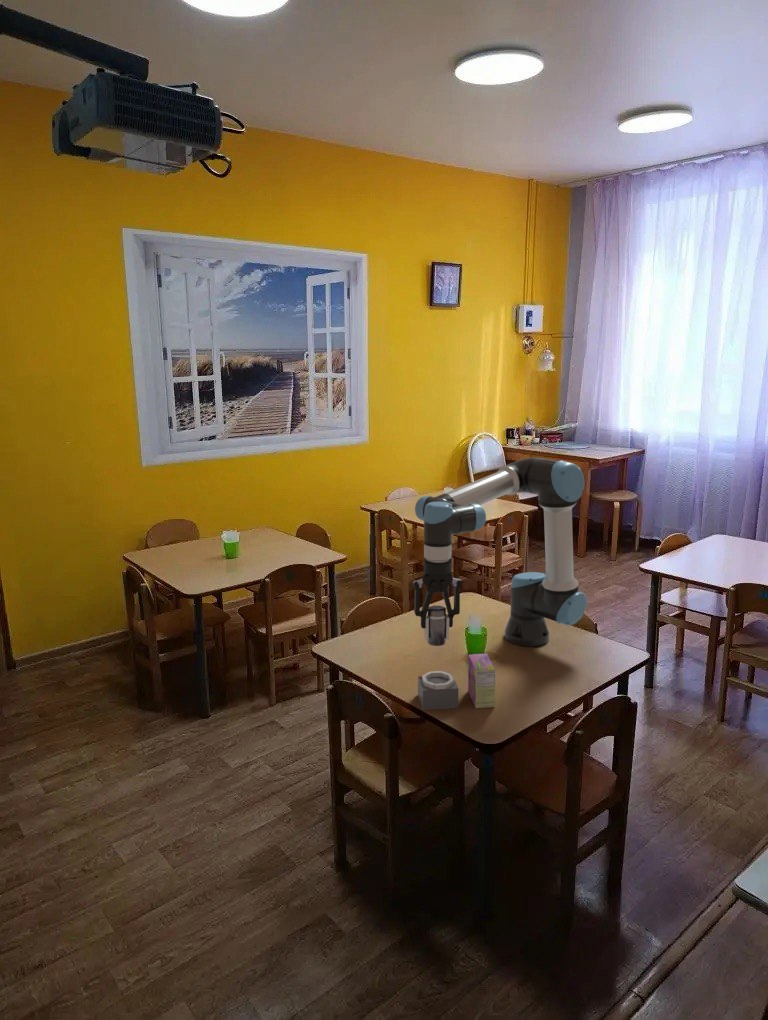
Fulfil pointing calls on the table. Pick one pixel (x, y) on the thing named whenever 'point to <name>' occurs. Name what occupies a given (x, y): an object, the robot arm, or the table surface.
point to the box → (481, 680)
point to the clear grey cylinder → (437, 625)
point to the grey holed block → (437, 691)
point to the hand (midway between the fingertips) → (436, 637)
